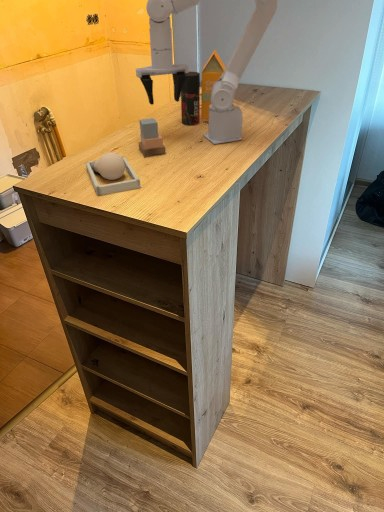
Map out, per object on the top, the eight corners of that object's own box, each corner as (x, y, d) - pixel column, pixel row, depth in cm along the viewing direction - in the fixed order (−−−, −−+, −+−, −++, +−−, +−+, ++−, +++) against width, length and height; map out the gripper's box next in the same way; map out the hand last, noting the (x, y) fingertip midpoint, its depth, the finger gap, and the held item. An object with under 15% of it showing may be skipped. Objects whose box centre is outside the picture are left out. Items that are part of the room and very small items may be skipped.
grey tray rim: (125, 163, 99) (124, 156, 98) (140, 187, 88) (139, 180, 86) (86, 169, 96) (85, 162, 95) (97, 195, 85) (96, 187, 83)
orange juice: (224, 112, 133) (227, 48, 121) (223, 119, 126) (226, 53, 114) (202, 111, 134) (203, 48, 121) (200, 119, 127) (201, 53, 114)
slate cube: (154, 132, 104) (153, 118, 101) (158, 137, 101) (157, 122, 98) (140, 134, 103) (139, 119, 100) (144, 139, 100) (142, 124, 97)
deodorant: (187, 118, 127) (186, 70, 118) (202, 121, 125) (203, 72, 116) (178, 123, 123) (176, 74, 114) (193, 126, 121) (193, 76, 112)
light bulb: (79, 154, 92) (105, 153, 84) (102, 151, 96) (128, 150, 89) (84, 181, 94) (110, 182, 87) (106, 177, 98) (132, 178, 91)
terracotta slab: (158, 140, 106) (157, 131, 104) (163, 146, 102) (162, 137, 100) (141, 142, 104) (140, 134, 103) (145, 149, 101) (144, 140, 99)
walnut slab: (159, 147, 108) (158, 139, 106) (165, 155, 104) (165, 146, 102) (139, 150, 106) (138, 142, 105) (144, 158, 102) (144, 150, 100)
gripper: (181, 44, 104) (182, 95, 112) (130, 48, 99) (136, 101, 108) (191, 48, 98) (191, 102, 107) (137, 52, 94) (142, 108, 102)
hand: (164, 102), depth 107 cm, fingers open, 7 cm apart
